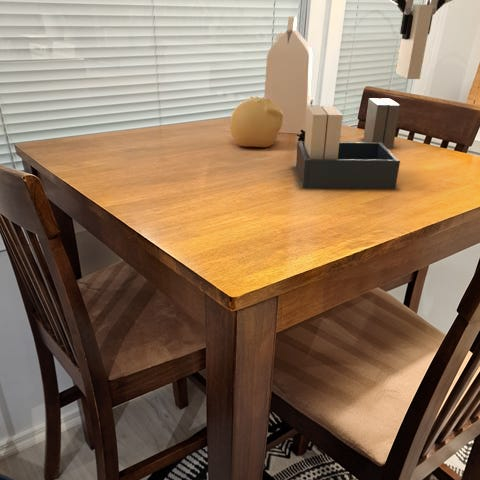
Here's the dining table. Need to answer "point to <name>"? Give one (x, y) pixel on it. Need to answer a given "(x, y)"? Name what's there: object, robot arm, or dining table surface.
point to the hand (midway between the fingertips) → (413, 38)
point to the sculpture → (256, 122)
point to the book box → (350, 167)
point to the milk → (290, 77)
